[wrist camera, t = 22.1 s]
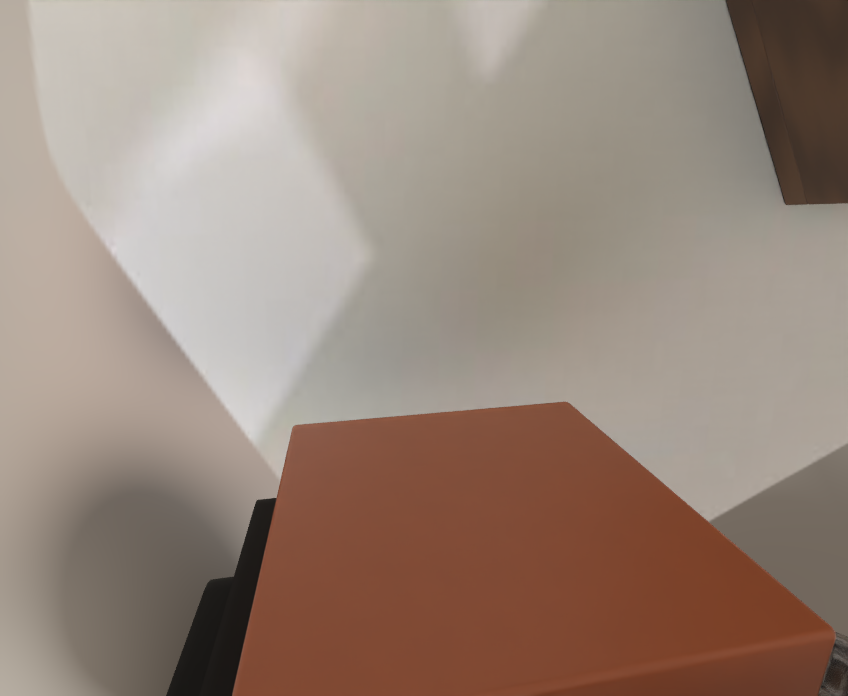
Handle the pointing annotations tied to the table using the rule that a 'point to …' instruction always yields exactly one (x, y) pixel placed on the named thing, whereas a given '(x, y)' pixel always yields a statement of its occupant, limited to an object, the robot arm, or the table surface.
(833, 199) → the cupboard
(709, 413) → the table surface
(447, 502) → the block
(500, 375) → the table surface
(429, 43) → the table surface
